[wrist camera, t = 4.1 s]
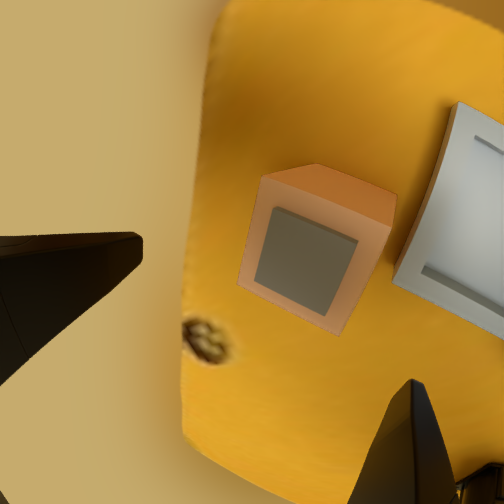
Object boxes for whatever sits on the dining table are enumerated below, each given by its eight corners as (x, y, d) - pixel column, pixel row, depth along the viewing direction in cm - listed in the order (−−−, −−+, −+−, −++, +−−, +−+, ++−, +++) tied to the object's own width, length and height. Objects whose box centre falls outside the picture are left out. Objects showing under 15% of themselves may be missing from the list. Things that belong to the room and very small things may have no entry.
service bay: (510, 327, 12) (517, 347, 10) (394, 266, 16) (391, 282, 14) (575, 191, 7) (592, 198, 5) (451, 107, 11) (458, 101, 9)
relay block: (366, 269, 17) (336, 342, 11) (295, 237, 18) (231, 288, 12) (397, 195, 14) (391, 231, 8) (317, 163, 16) (256, 176, 10)
